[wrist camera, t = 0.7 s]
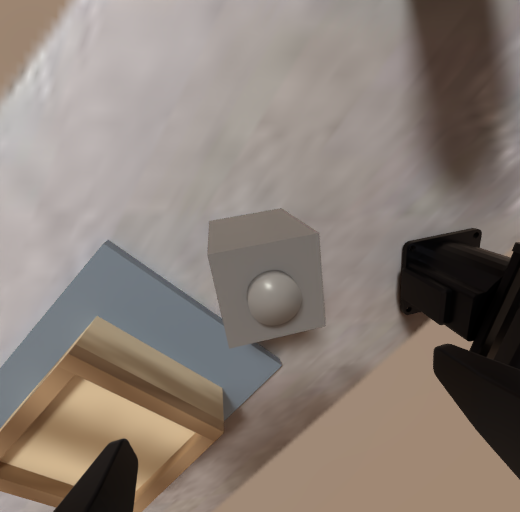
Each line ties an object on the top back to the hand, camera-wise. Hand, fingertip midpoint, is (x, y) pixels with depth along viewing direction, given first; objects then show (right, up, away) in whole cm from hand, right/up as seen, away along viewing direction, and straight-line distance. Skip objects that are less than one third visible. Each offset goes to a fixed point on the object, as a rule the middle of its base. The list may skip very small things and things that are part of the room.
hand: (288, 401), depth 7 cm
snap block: (-1, +5, +11) cm, 12 cm away
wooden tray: (-12, -7, +13) cm, 19 cm away
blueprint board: (-12, -7, +14) cm, 19 cm away
